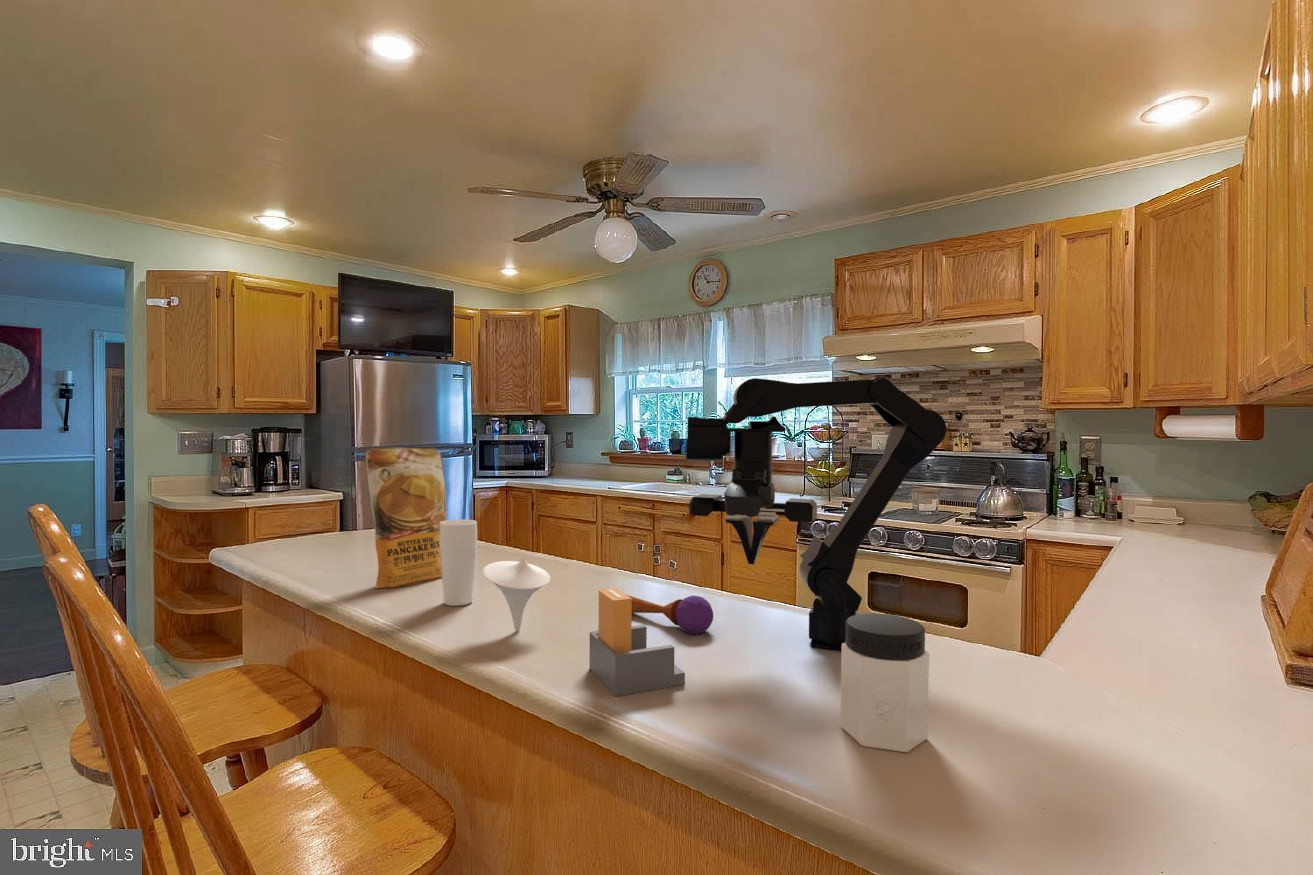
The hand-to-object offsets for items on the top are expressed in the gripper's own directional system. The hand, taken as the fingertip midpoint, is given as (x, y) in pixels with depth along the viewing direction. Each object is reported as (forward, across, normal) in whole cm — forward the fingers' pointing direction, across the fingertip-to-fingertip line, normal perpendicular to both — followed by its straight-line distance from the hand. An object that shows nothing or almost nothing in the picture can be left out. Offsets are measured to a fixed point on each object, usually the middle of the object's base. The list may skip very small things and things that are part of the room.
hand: (751, 563), depth 101 cm
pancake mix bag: (+12, -75, +11) cm, 77 cm away
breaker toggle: (+10, -13, -21) cm, 27 cm away
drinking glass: (+12, -55, +1) cm, 56 cm away
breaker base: (+12, -11, -19) cm, 25 cm away
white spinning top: (+12, -36, -9) cm, 39 cm away
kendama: (+12, -16, +4) cm, 21 cm away
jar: (+12, +20, -24) cm, 34 cm away
